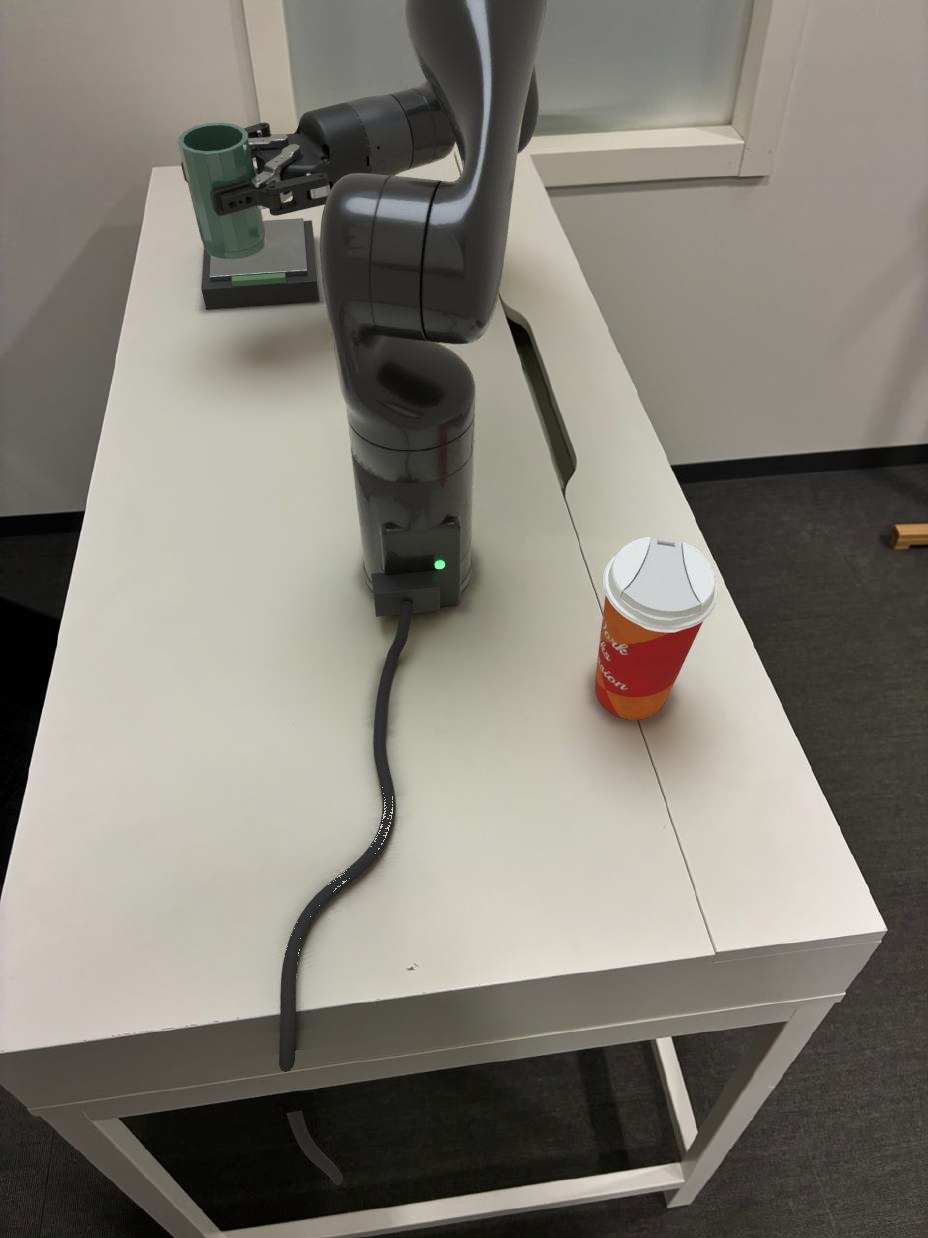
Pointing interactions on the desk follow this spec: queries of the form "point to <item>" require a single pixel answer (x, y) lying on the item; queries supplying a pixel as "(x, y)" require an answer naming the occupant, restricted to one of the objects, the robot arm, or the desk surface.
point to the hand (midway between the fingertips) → (199, 188)
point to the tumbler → (215, 163)
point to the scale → (266, 270)
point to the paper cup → (650, 622)
